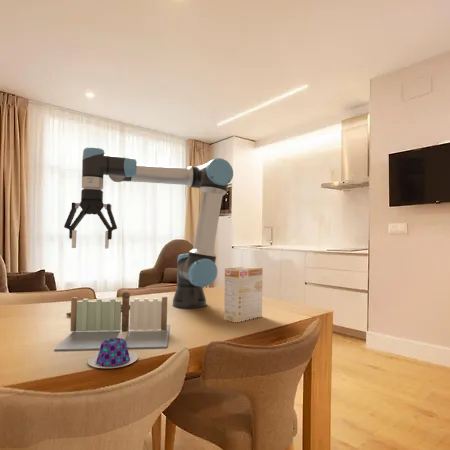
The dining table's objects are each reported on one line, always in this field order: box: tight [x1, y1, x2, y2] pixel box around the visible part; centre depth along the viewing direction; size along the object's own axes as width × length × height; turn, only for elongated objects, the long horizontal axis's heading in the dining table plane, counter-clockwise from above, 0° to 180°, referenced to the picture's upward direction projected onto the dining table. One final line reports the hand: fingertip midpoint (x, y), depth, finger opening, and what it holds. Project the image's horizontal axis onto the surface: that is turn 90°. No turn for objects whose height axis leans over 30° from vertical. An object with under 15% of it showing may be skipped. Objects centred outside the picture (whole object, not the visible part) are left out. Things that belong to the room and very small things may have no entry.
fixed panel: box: [129, 296, 168, 331], centre depth 111 cm, size 12×2×11 cm, turn 98°
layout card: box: [53, 324, 170, 352], centre depth 105 cm, size 30×23×1 cm
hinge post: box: [121, 291, 131, 332], centre depth 110 cm, size 3×3×13 cm
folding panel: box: [69, 296, 122, 333], centre depth 109 cm, size 15×2×10 cm, turn 98°
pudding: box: [87, 338, 139, 369], centre depth 86 cm, size 12×12×5 cm
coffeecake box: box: [223, 265, 263, 324], centre depth 132 cm, size 15×7×20 cm, turn 135°
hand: (90, 248), depth 127 cm, fingers open, 11 cm apart
